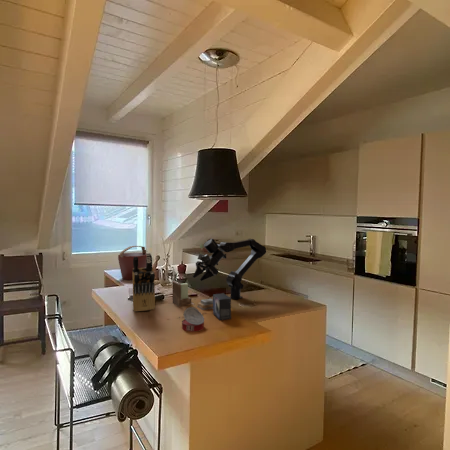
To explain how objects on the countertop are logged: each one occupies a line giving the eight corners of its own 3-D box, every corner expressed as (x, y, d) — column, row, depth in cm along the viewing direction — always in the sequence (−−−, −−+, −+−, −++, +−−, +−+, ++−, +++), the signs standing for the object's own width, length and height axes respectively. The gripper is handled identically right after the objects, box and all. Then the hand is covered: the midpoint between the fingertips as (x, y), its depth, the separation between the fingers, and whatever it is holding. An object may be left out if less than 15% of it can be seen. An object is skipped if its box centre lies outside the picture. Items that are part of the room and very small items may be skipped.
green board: (186, 302, 186) (186, 283, 186) (188, 303, 185) (188, 283, 184) (179, 303, 184) (179, 283, 184) (181, 304, 183) (181, 284, 182)
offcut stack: (210, 306, 183) (210, 297, 183) (216, 309, 177) (216, 300, 177) (197, 308, 179) (197, 299, 179) (203, 311, 173) (203, 302, 173)
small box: (212, 314, 169) (212, 293, 169) (223, 312, 171) (224, 292, 171) (218, 320, 159) (219, 299, 159) (231, 319, 162) (231, 298, 161)
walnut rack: (188, 302, 191) (189, 279, 190) (195, 306, 183) (195, 282, 183) (172, 304, 186) (172, 281, 186) (178, 308, 178) (178, 284, 178)
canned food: (199, 334, 154) (209, 314, 155) (198, 340, 144) (209, 319, 145) (178, 322, 154) (188, 303, 155) (175, 328, 144) (186, 307, 145)
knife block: (132, 318, 162) (132, 255, 161) (132, 299, 196) (132, 247, 195) (156, 316, 165) (156, 254, 164) (152, 298, 199) (152, 246, 198)
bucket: (142, 274, 273) (142, 243, 272) (155, 278, 256) (155, 246, 255) (113, 277, 258) (113, 245, 257) (125, 282, 241) (124, 248, 240)
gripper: (199, 247, 198) (181, 266, 192) (214, 250, 182) (195, 272, 176) (210, 260, 202) (193, 279, 196) (226, 264, 186) (207, 285, 180)
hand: (196, 278), depth 187 cm, fingers open, 9 cm apart
